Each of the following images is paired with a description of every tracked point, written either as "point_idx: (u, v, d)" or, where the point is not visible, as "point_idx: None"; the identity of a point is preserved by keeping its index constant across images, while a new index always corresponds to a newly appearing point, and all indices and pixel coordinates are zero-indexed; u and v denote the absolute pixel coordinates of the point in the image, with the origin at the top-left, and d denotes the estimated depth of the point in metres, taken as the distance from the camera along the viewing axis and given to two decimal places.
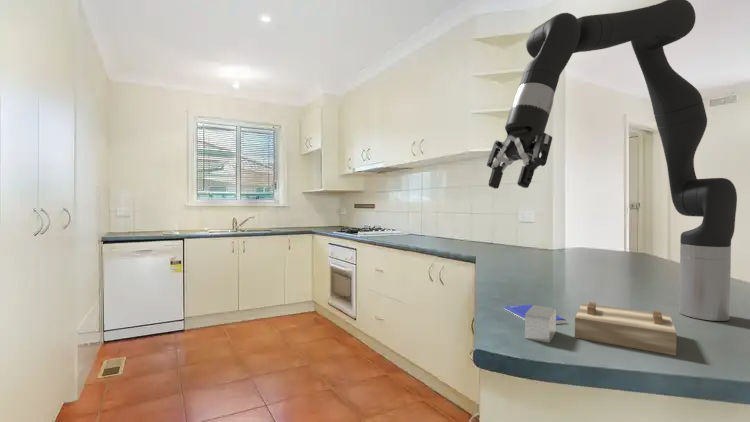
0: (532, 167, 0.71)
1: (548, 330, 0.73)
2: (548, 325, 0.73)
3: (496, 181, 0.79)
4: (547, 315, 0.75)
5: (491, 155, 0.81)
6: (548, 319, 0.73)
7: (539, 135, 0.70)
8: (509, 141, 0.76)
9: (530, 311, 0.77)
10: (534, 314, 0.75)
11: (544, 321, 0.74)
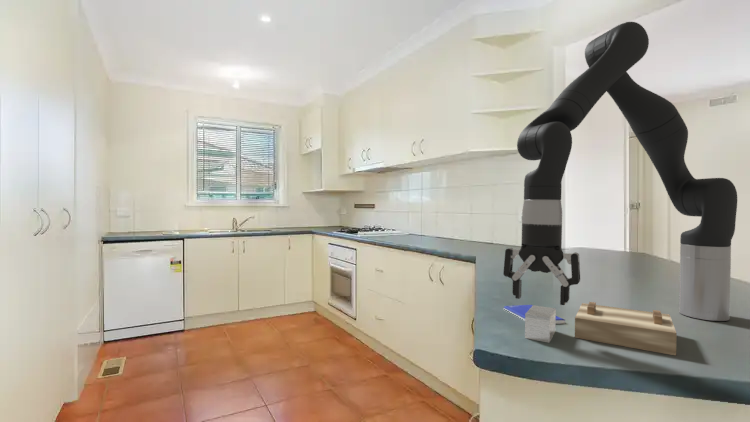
0: (569, 286, 0.75)
1: (548, 330, 0.73)
2: (548, 325, 0.73)
3: (520, 291, 0.80)
4: (547, 315, 0.75)
5: (506, 265, 0.80)
6: (548, 319, 0.73)
7: (573, 257, 0.73)
8: (534, 257, 0.76)
9: (530, 311, 0.77)
10: (534, 314, 0.75)
11: (544, 321, 0.74)
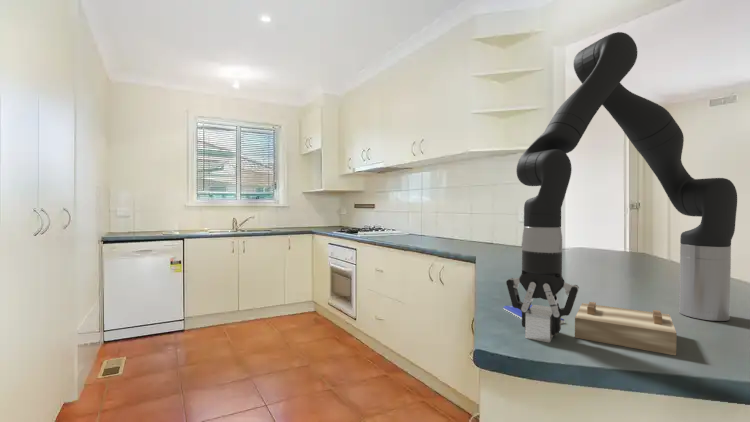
0: (560, 316, 0.76)
1: (549, 329, 0.73)
2: (549, 324, 0.73)
3: None
4: (547, 314, 0.75)
5: (512, 296, 0.80)
6: (549, 318, 0.73)
7: (573, 290, 0.73)
8: (534, 284, 0.76)
9: (530, 310, 0.77)
10: (534, 313, 0.75)
11: (545, 320, 0.74)
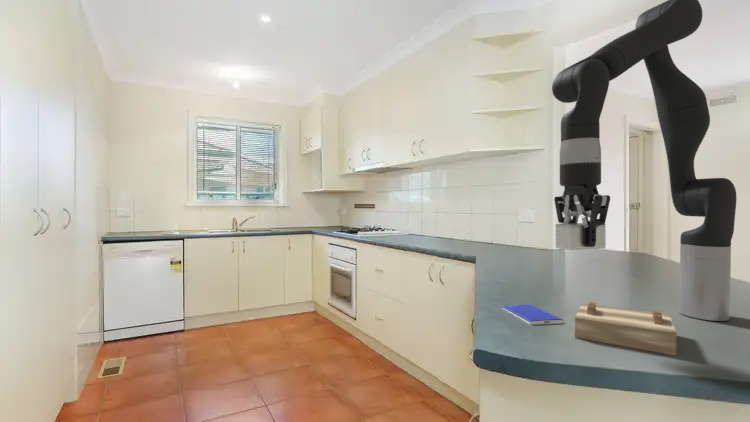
0: (593, 228, 0.75)
1: (570, 237, 0.75)
2: (569, 232, 0.75)
3: None
4: (574, 224, 0.76)
5: (558, 211, 0.83)
6: (569, 227, 0.75)
7: (595, 199, 0.72)
8: (568, 196, 0.79)
9: None
10: (563, 224, 0.78)
11: (567, 229, 0.76)
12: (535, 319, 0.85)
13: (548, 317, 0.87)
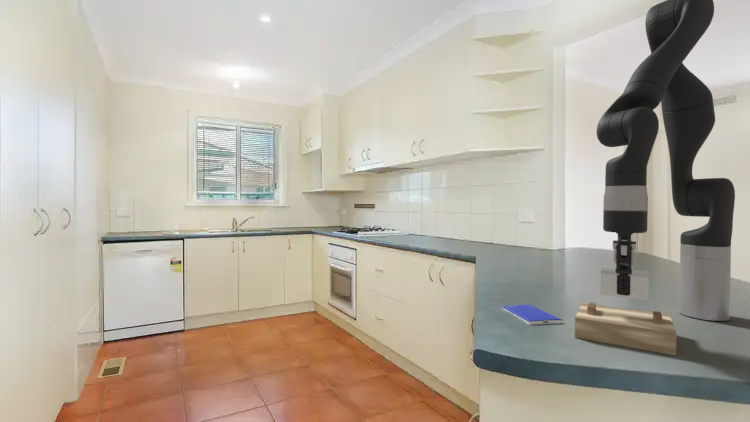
0: (623, 276, 0.74)
1: None
2: None
3: None
4: (608, 270, 0.77)
5: None
6: None
7: None
8: None
9: None
10: (605, 268, 0.79)
11: None
12: (534, 319, 0.85)
13: (548, 317, 0.87)
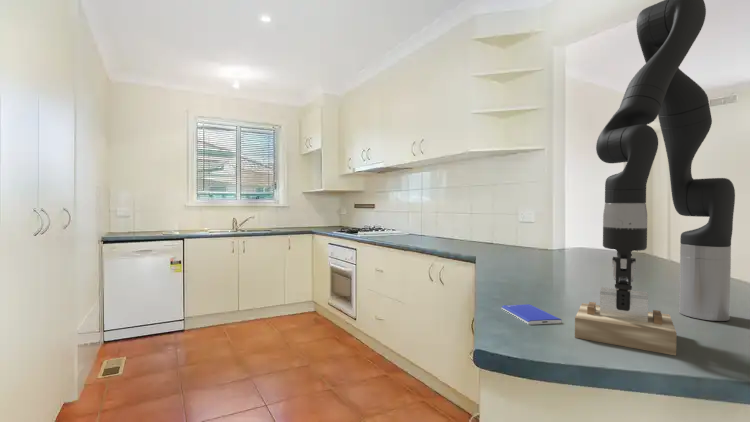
0: (623, 291, 0.73)
1: (600, 303, 0.78)
2: (600, 298, 0.78)
3: None
4: (608, 291, 0.77)
5: None
6: (600, 292, 0.78)
7: (616, 261, 0.73)
8: None
9: (615, 289, 0.79)
10: (604, 289, 0.80)
11: None
12: (533, 319, 0.85)
13: (547, 317, 0.87)
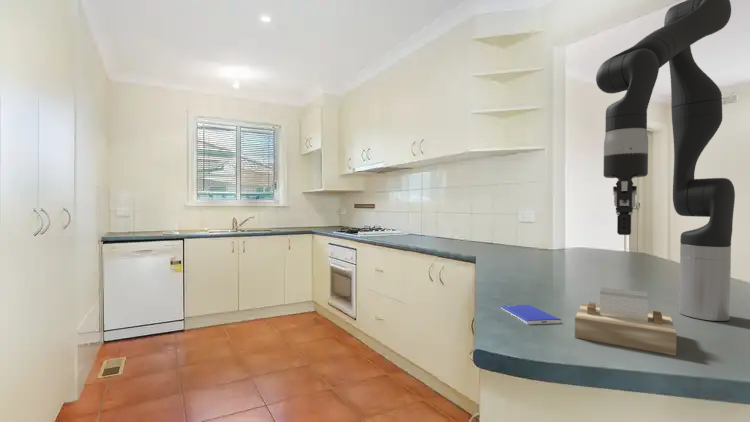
0: (624, 215, 0.72)
1: (600, 303, 0.78)
2: (600, 298, 0.78)
3: None
4: (608, 291, 0.77)
5: None
6: (600, 292, 0.78)
7: None
8: None
9: (615, 289, 0.79)
10: (604, 289, 0.80)
11: None
12: (532, 319, 0.85)
13: (546, 317, 0.87)
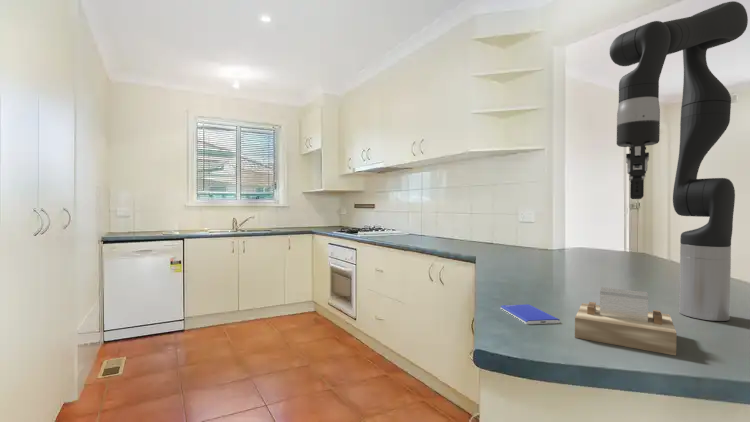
0: (637, 179, 0.76)
1: (600, 303, 0.78)
2: (600, 298, 0.78)
3: None
4: (608, 291, 0.77)
5: None
6: (600, 292, 0.78)
7: (630, 150, 0.76)
8: None
9: (615, 289, 0.79)
10: (604, 289, 0.80)
11: None
12: (531, 319, 0.85)
13: (545, 317, 0.87)
